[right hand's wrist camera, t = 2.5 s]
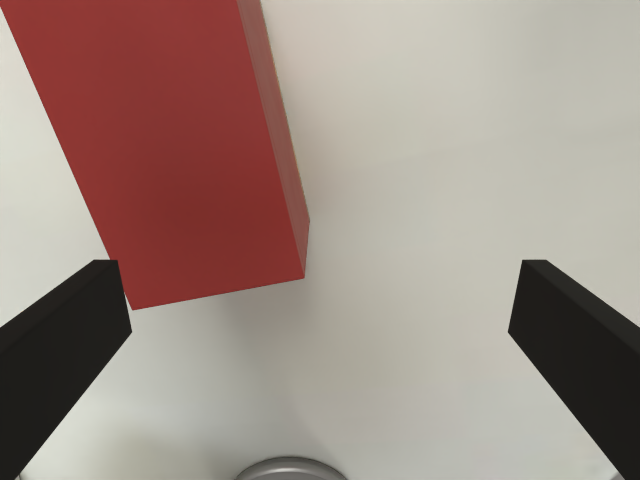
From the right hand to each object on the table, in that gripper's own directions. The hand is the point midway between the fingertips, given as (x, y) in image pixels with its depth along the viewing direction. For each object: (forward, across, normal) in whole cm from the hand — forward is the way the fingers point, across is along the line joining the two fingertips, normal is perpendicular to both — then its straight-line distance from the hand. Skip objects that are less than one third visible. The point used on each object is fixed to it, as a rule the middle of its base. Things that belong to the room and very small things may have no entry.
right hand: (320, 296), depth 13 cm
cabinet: (+20, +8, -4) cm, 22 cm away
